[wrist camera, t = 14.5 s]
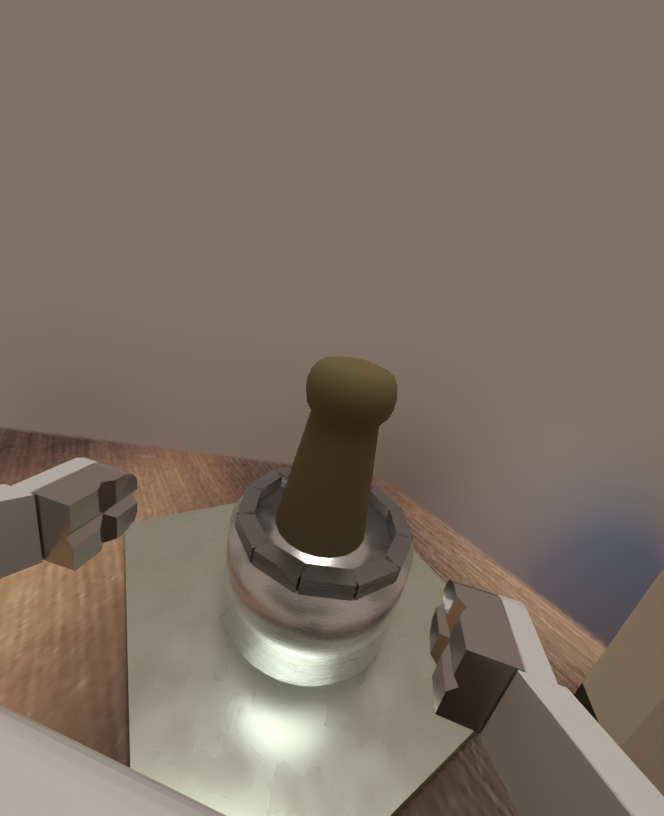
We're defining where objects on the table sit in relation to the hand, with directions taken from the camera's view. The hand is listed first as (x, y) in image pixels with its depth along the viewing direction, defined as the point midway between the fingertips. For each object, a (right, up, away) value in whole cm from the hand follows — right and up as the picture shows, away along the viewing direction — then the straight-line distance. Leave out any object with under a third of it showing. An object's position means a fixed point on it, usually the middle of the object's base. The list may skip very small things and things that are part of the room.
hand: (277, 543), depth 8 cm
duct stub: (-1, -11, +15) cm, 19 cm away
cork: (+1, -4, +13) cm, 14 cm away
